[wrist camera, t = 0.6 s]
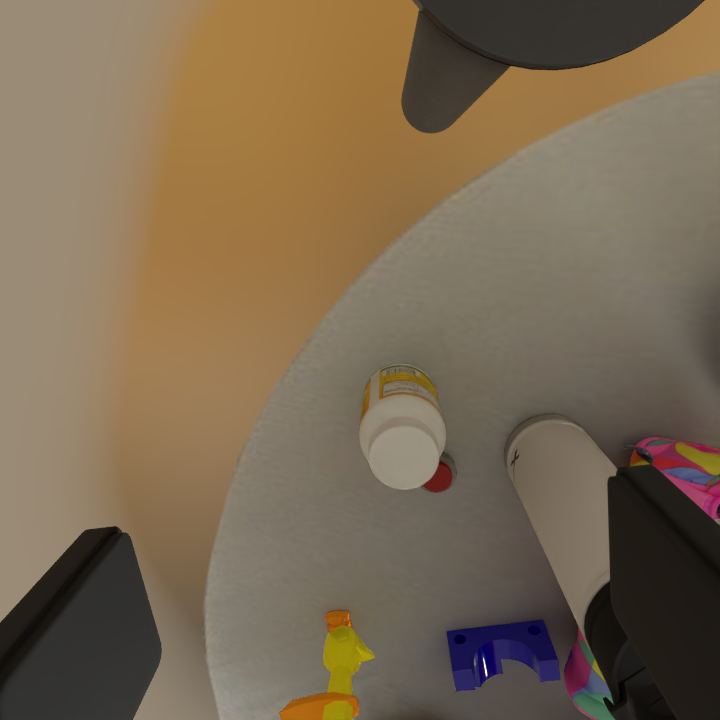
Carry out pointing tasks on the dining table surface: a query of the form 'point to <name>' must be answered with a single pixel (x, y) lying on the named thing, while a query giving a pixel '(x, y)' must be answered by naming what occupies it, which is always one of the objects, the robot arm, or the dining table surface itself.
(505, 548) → the dining table surface
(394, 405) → the supplement bottle
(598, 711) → the pencil case
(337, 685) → the toy figure
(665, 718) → the travel mug
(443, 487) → the push button
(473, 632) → the cable holder
